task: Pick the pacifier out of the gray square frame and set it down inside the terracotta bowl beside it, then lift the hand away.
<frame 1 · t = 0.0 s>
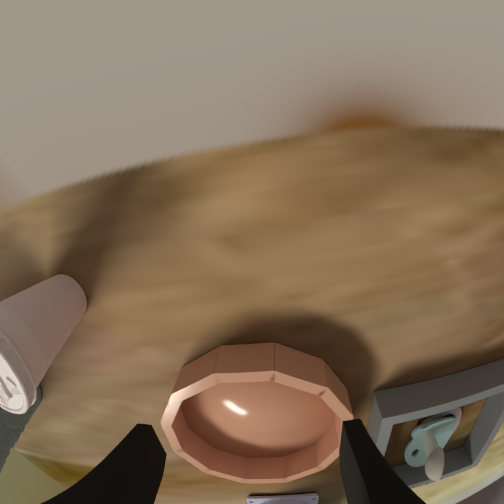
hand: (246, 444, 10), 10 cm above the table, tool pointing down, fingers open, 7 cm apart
drinking glass: (14, 373, 25), on the table
bowl: (258, 412, 23), on the table
gray square frame: (432, 427, 23), on the table
pacifier: (431, 424, 23), resting in gray square frame
smoothie: (68, 296, 21), on the table
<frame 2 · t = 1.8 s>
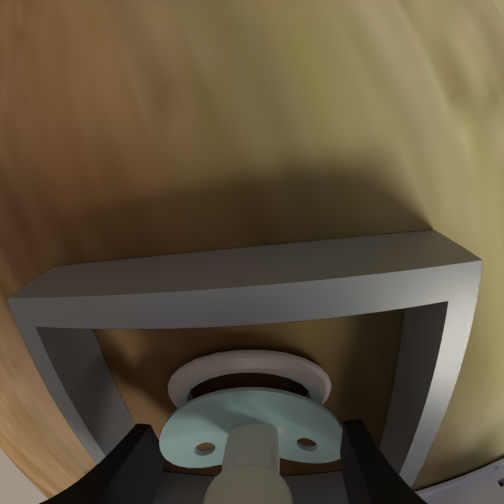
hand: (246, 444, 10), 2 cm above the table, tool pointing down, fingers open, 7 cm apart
gray square frame: (251, 408, 12), on the table
pacifier: (251, 396, 12), resting in gray square frame, touching gripper
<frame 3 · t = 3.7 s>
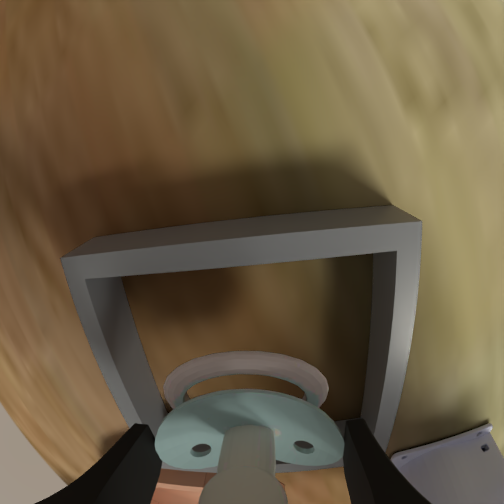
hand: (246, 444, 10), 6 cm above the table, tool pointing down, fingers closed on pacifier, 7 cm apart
bowl: (206, 493, 21), on the table
gray square frame: (253, 354, 16), on the table
pacifier: (248, 397, 12), point 4 cm above the table, touching gripper
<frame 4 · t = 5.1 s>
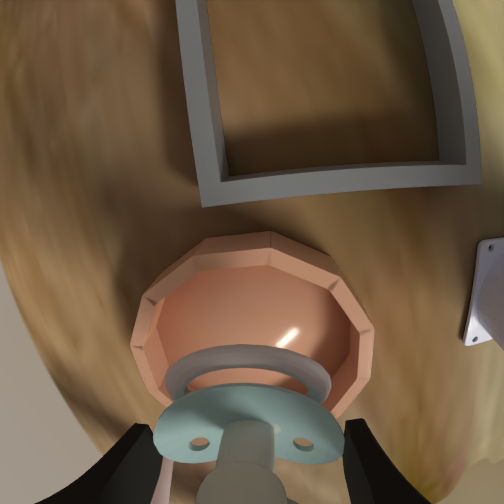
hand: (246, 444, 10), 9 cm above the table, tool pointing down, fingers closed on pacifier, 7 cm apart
bowl: (253, 338, 20), on the table
gray square frame: (327, 57, 14), on the table
pacifier: (249, 392, 12), point 7 cm above the table, touching gripper
smoothie: (156, 449, 25), on the table
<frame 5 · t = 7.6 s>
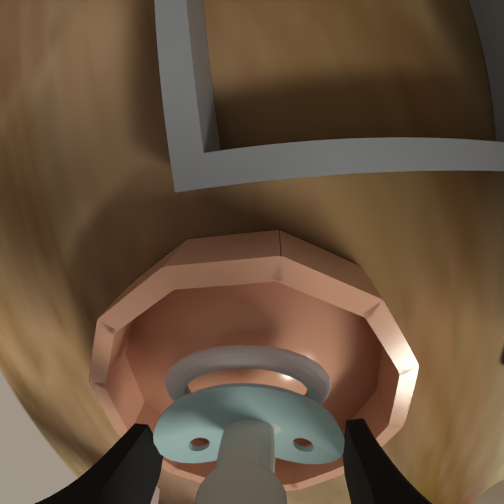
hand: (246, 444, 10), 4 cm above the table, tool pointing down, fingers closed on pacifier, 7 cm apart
bowl: (252, 373, 14), on the table
pacifier: (249, 393, 12), point 2 cm above the table, touching gripper
smoothie: (139, 482, 20), on the table
when the fingers open (9 cm above the table, at t = 8.3 s): pacifier drops 5 cm, resting on bowl.
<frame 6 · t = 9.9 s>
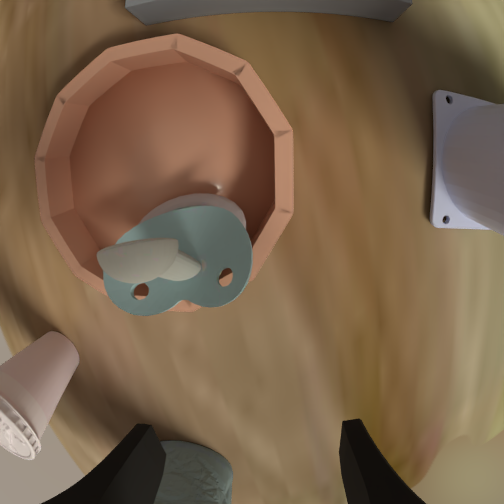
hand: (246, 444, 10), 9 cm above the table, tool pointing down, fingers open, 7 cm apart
drinking glass: (187, 462, 25), on the table
bowl: (163, 172, 17), on the table
pacifier: (191, 254, 16), point 2 cm above the table, touching bowl
smoothie: (62, 349, 22), on the table
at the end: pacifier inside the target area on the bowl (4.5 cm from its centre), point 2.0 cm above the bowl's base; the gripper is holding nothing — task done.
